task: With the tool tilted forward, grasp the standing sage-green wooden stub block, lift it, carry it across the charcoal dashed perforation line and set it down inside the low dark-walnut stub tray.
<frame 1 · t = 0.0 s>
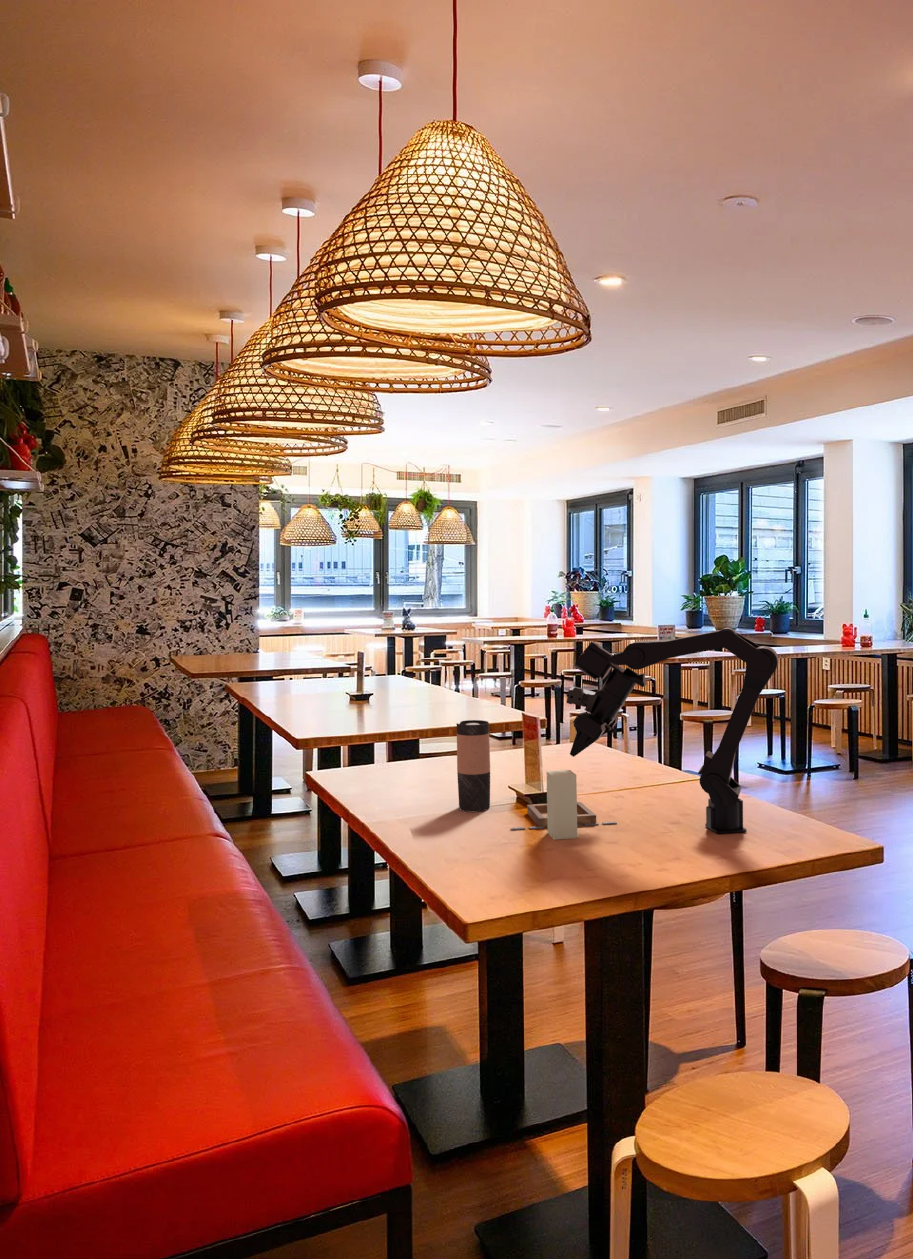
hand: (576, 751, 205), 15 cm above the table, tool tilted 35°, fingers open, 9 cm apart
stub block: (562, 835, 193), on the table
stub tray: (560, 818, 207), on the table
travel mug: (474, 808, 218), on the table
perforation line: (563, 826, 200), on the table
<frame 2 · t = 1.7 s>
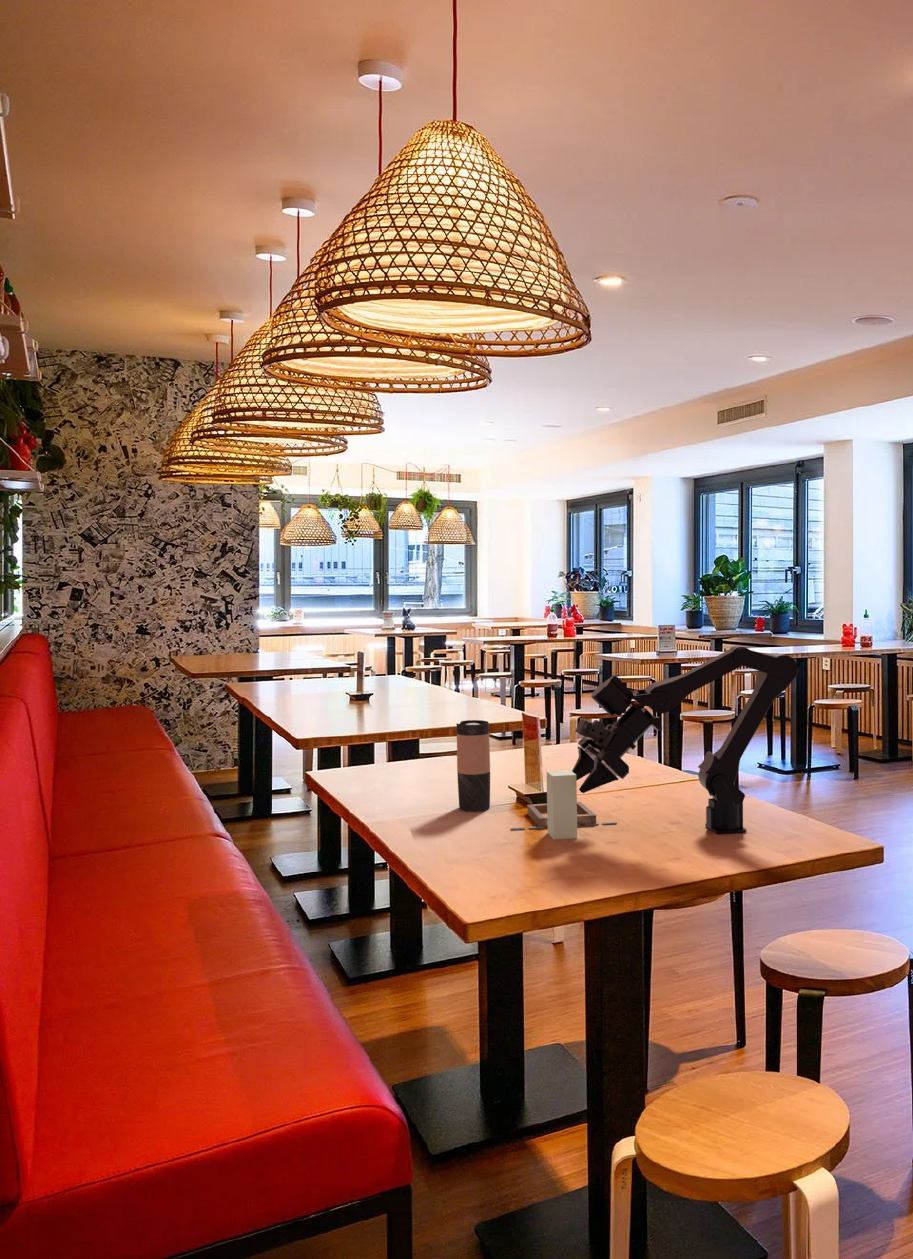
hand: (574, 786, 193), 10 cm above the table, tool tilted 45°, fingers open, 9 cm apart
nothing on the table moved.
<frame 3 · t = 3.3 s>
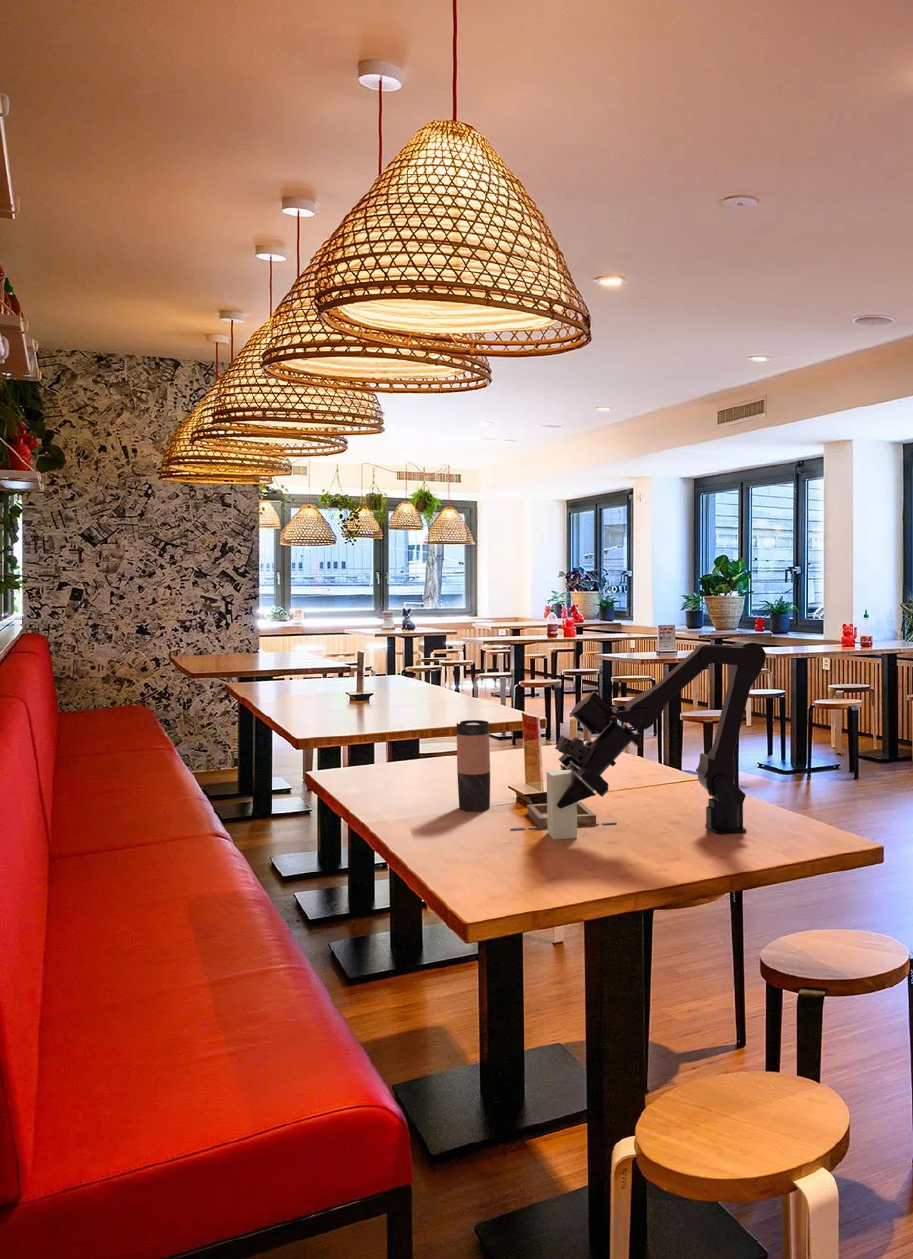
hand: (555, 803, 193), 7 cm above the table, tool tilted 45°, fingers closed on stub block, 5 cm apart
stub block: (562, 835, 193), on the table, touching gripper
everything else where it was.
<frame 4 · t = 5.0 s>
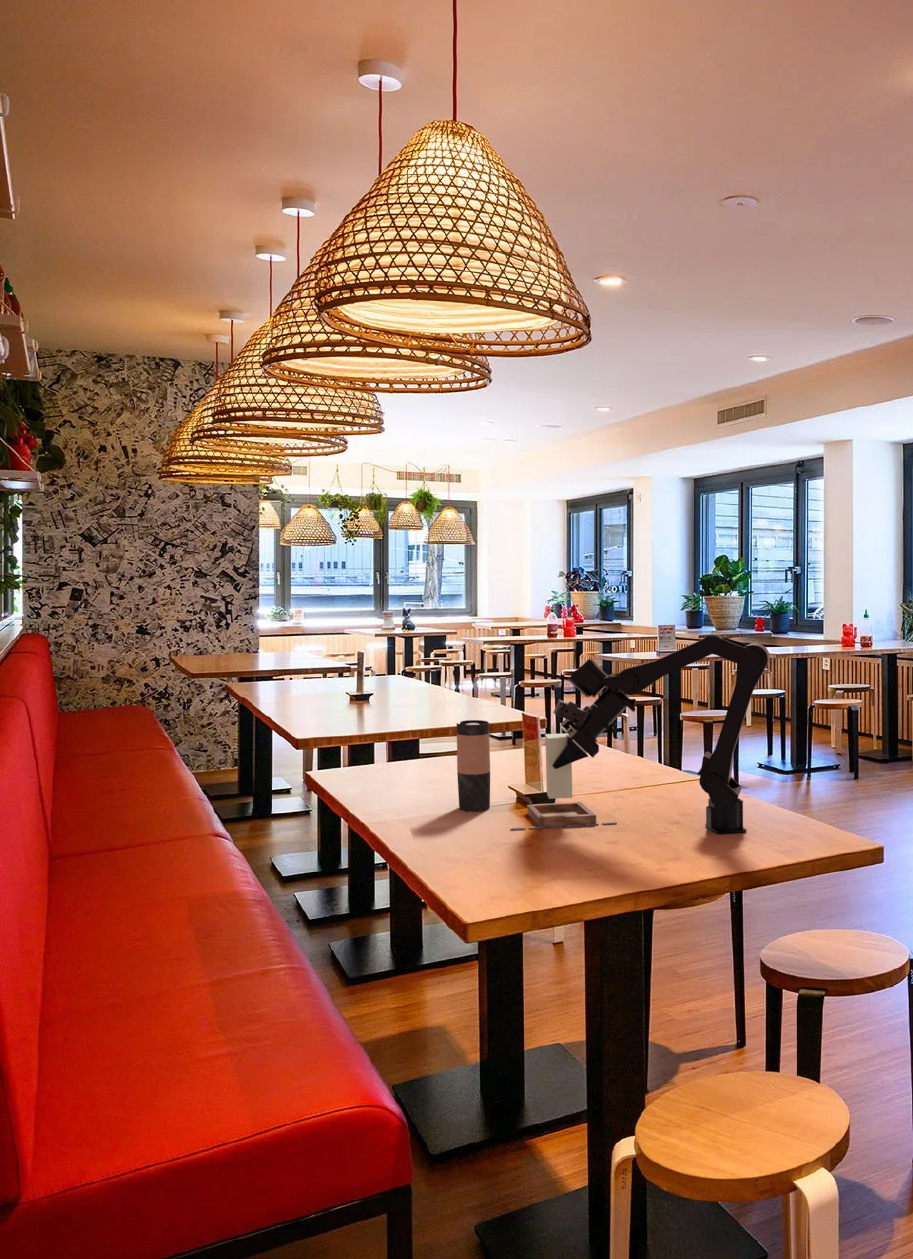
hand: (552, 764, 203), 13 cm above the table, tool tilted 45°, fingers closed on stub block, 5 cm apart
stub block: (559, 795, 203), point 6 cm above the table, touching gripper
everything else where it was.
when the fingers open (8 cm above the table, at t = 6.7 s): stub block stays where it is, resting on stub tray.
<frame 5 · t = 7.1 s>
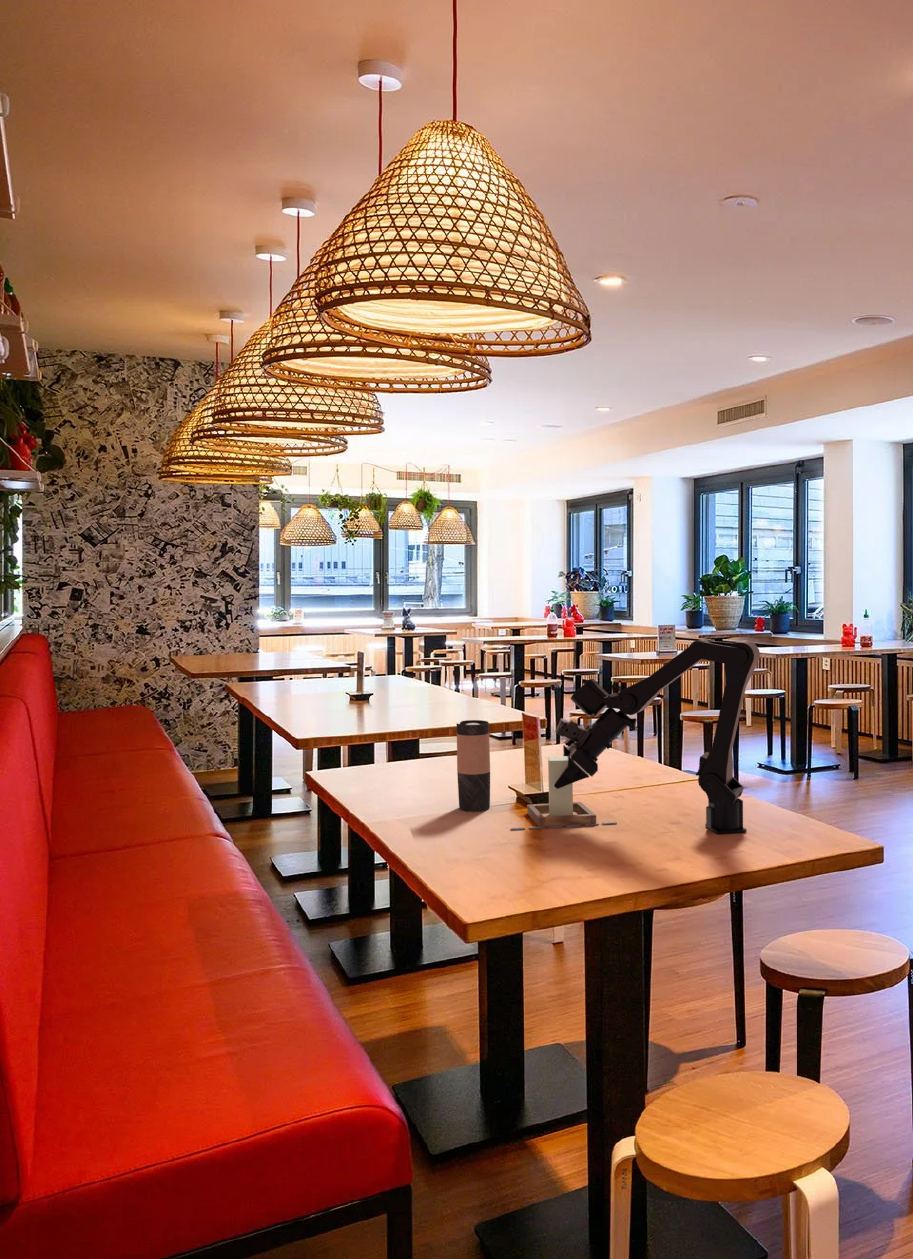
hand: (553, 782, 206), 8 cm above the table, tool tilted 45°, fingers open, 9 cm apart
stub block: (560, 817, 207), resting on stub tray
everything else where it was.
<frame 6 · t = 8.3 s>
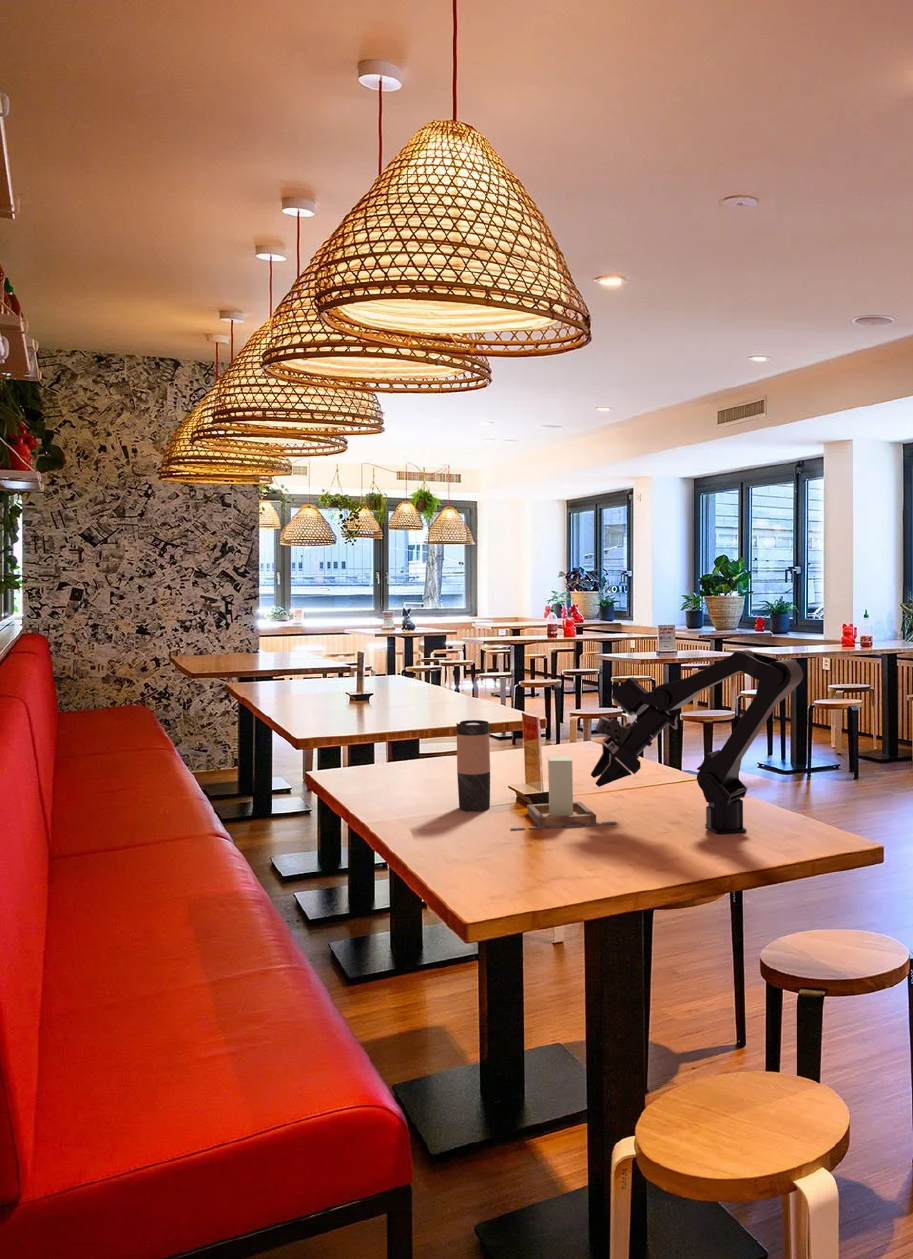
hand: (594, 780, 206), 8 cm above the table, tool tilted 45°, fingers open, 9 cm apart
nothing on the table moved.
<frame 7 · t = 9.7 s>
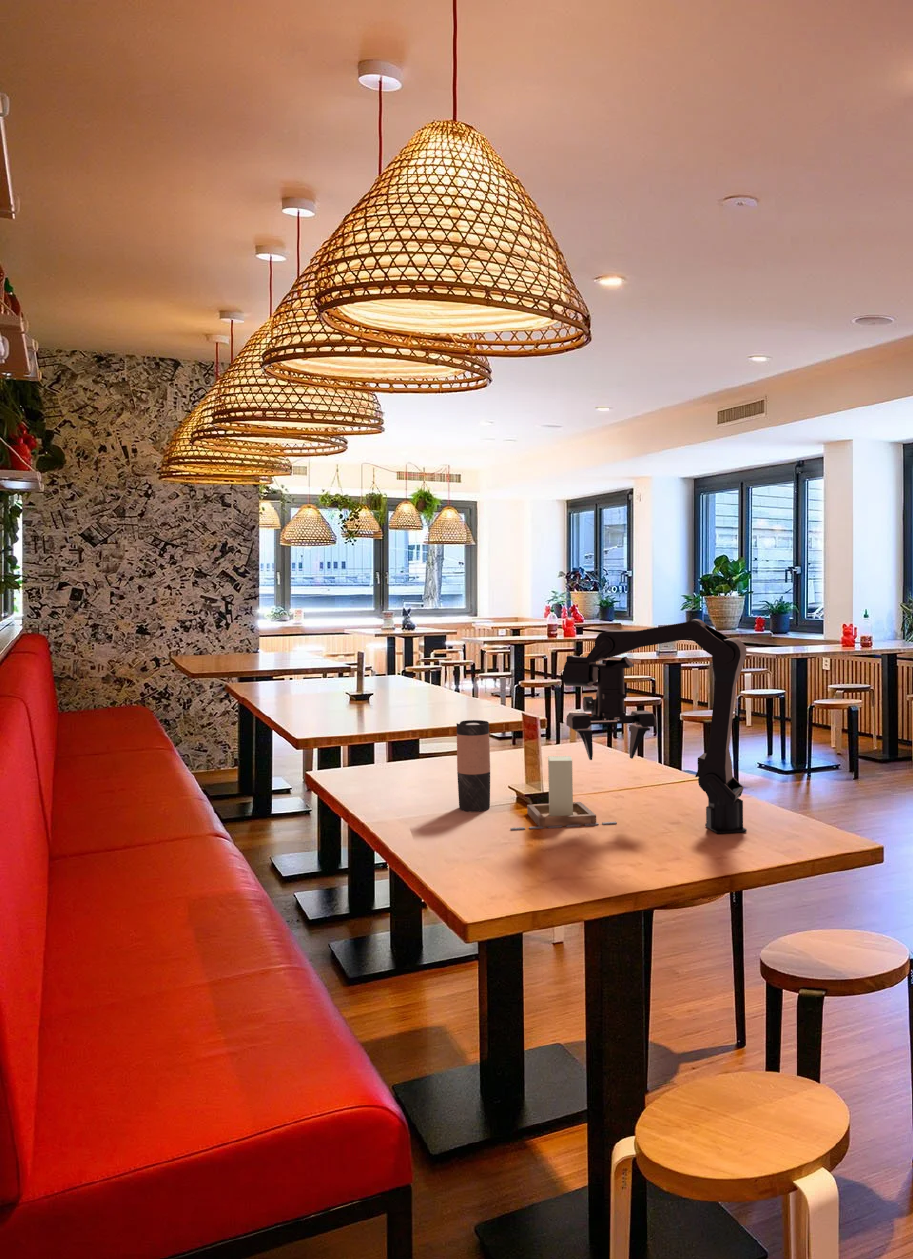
hand: (611, 759, 206), 13 cm above the table, tool pointing down, fingers open, 9 cm apart
nothing on the table moved.
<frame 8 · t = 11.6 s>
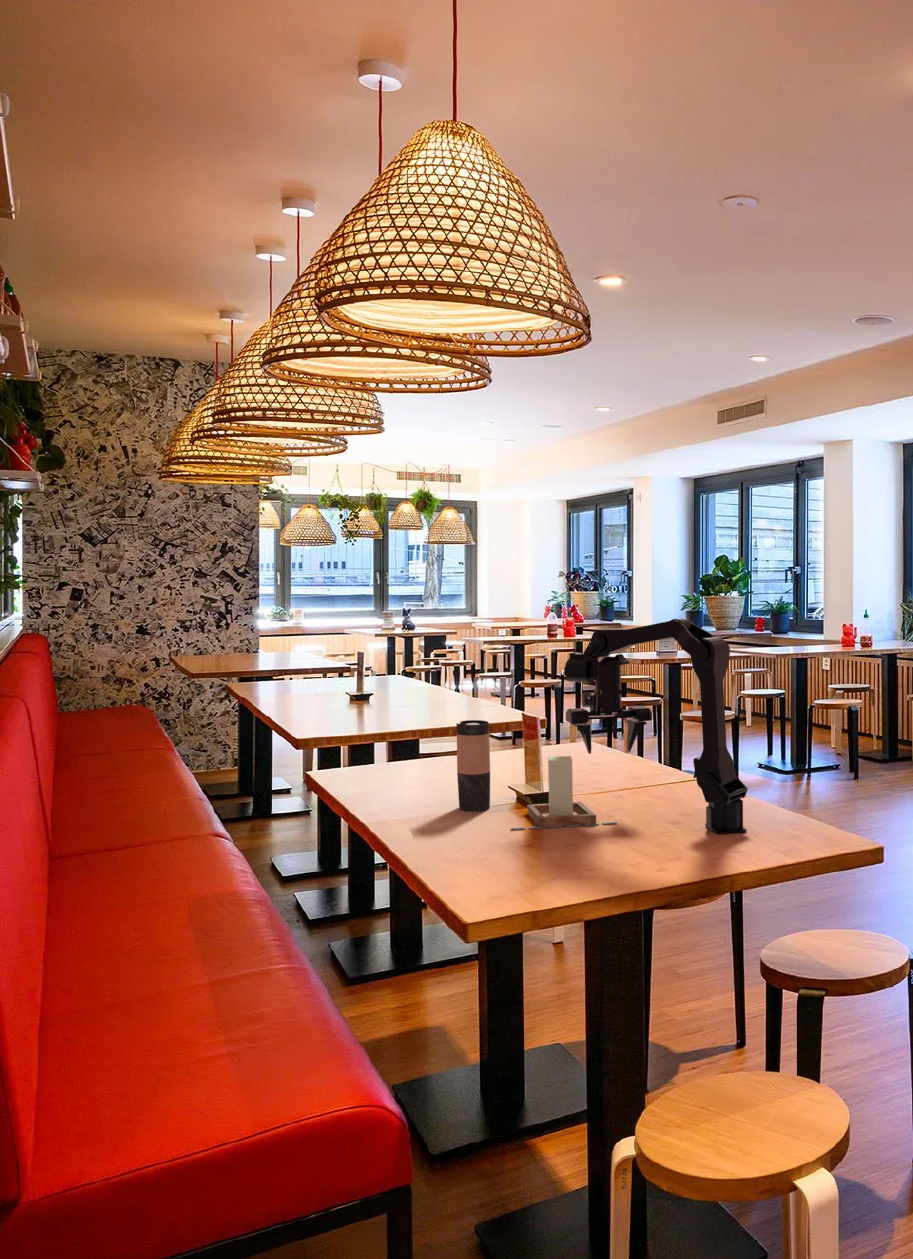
hand: (609, 752, 214), 13 cm above the table, tool pointing down, fingers open, 9 cm apart
nothing on the table moved.
at the end: stub block inside the target area (0.0 cm from its centre), resting on stub tray; stub block tilted 0°; the gripper is holding nothing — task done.
